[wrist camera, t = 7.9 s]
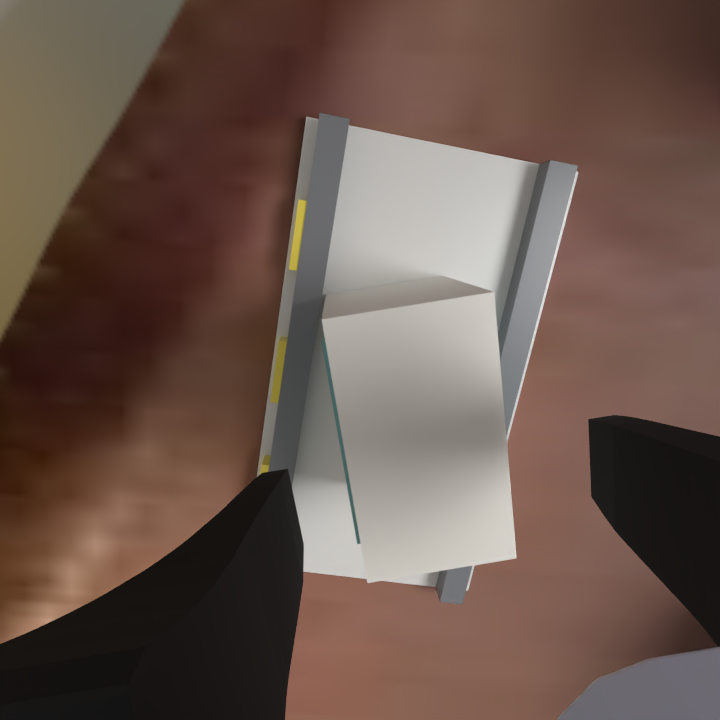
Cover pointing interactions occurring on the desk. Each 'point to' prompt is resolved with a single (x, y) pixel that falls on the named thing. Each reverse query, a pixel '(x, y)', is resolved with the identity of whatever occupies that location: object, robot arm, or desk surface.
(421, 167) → the shelf bay
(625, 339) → the desk surface
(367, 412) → the carton
